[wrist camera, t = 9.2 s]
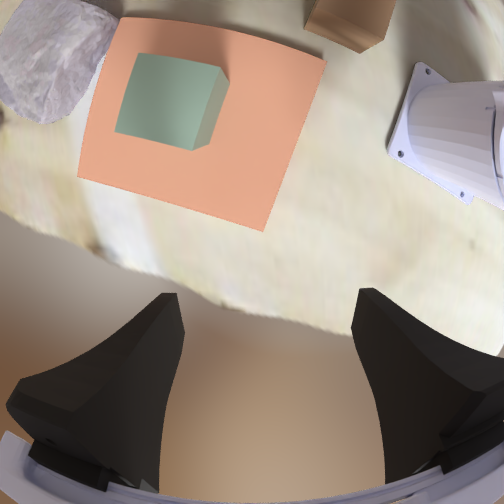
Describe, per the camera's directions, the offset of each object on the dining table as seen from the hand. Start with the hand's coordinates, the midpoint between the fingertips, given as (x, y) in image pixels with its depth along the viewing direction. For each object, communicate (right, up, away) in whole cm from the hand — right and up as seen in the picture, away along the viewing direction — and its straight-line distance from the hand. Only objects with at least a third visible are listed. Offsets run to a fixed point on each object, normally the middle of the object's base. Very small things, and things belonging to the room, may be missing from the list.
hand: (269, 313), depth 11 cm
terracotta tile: (-5, +11, +5) cm, 13 cm away
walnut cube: (+5, +18, +2) cm, 19 cm away
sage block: (-5, +11, +4) cm, 13 cm away
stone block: (-17, +18, +3) cm, 25 cm away
